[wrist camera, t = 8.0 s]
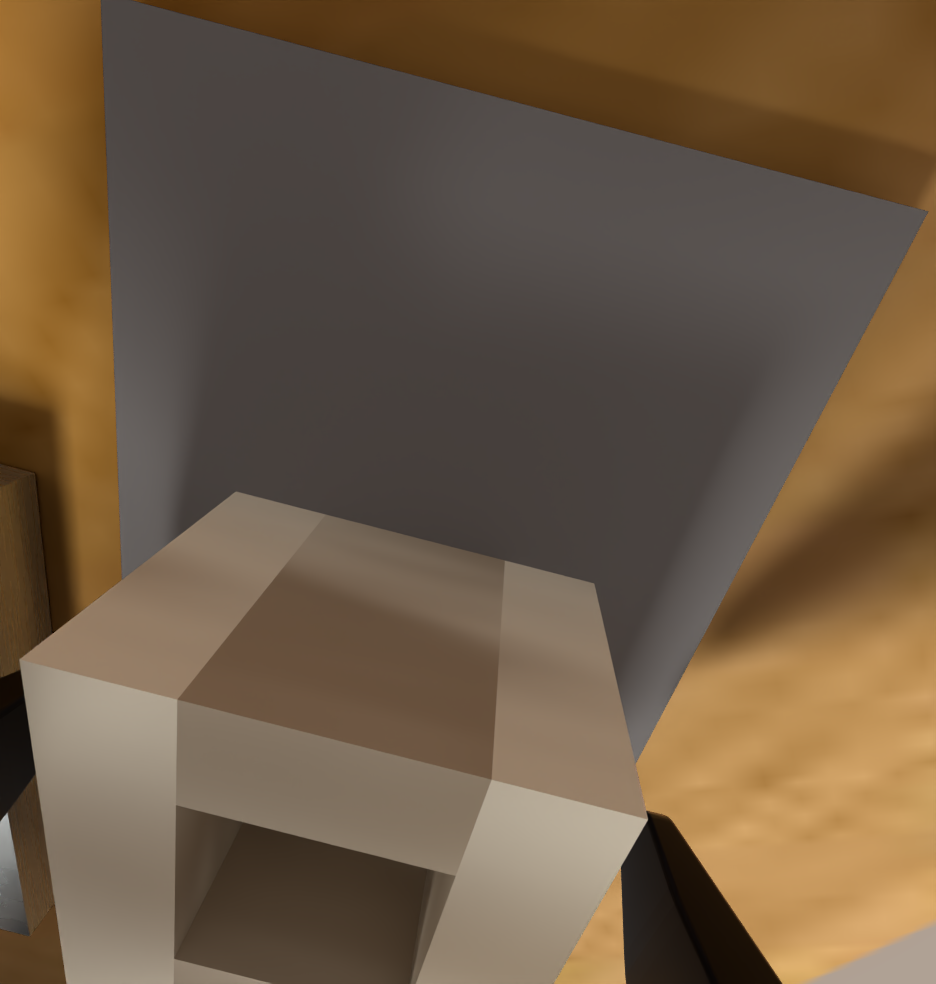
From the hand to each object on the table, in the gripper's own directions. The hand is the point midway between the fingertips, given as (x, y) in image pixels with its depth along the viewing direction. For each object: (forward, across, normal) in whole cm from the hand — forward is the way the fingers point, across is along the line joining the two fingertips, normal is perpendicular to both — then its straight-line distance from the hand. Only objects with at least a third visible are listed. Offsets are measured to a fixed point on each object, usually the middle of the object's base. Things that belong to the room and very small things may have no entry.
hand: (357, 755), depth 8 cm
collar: (+2, 0, 0) cm, 2 cm away
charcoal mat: (+2, 0, 0) cm, 2 cm away
